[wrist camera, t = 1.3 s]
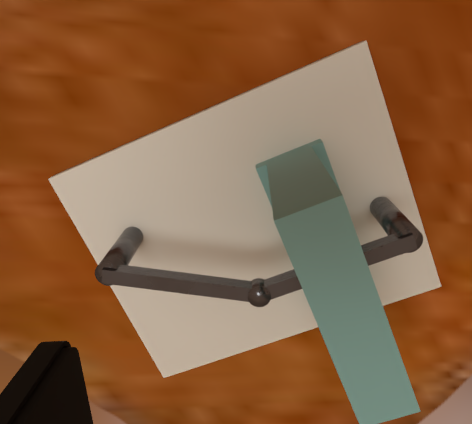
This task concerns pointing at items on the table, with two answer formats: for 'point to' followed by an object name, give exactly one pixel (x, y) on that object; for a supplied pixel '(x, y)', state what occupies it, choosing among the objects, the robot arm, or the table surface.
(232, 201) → the base board
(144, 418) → the table surface
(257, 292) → the dark hinged linkage
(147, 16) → the table surface
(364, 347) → the teal rectangular frame
